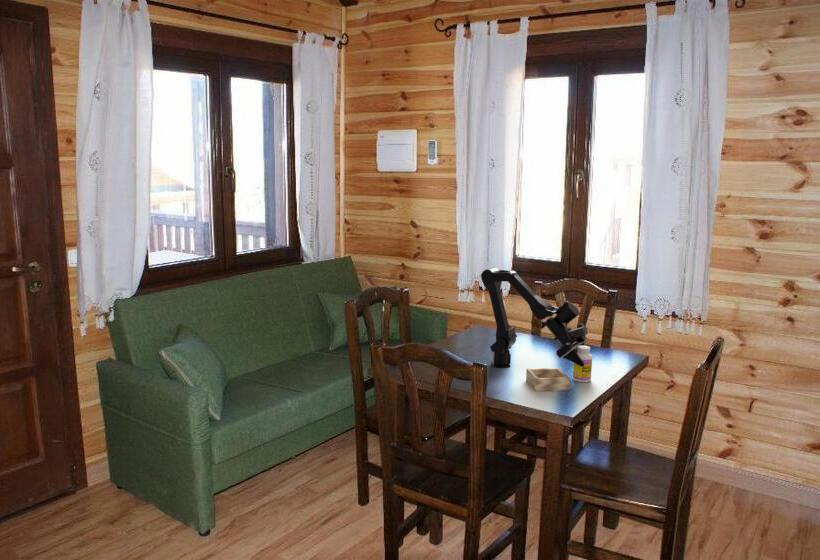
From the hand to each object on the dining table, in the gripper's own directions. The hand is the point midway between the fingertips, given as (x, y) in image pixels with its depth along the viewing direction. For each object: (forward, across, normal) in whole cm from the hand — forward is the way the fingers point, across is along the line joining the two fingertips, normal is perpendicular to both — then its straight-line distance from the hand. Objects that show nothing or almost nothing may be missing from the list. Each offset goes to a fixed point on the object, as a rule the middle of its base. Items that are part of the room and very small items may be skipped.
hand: (586, 363), depth 262 cm
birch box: (-2, -13, +12) cm, 18 cm away
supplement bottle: (+4, 0, +6) cm, 7 cm away
